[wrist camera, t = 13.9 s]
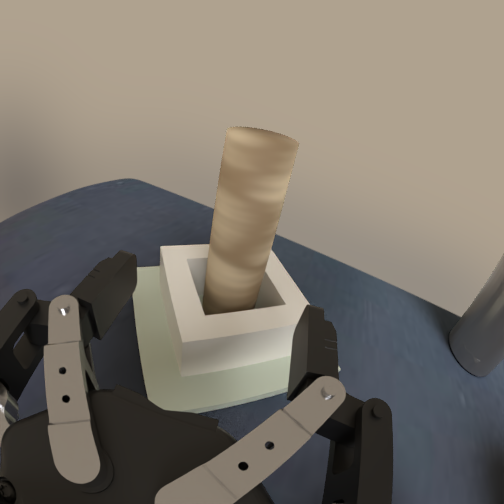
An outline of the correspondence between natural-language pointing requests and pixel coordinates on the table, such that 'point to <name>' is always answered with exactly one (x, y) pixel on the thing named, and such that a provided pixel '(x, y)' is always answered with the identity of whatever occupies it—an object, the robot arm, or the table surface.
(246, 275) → the peg
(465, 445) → the table surface
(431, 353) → the table surface
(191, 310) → the socket
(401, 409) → the table surface
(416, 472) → the table surface
